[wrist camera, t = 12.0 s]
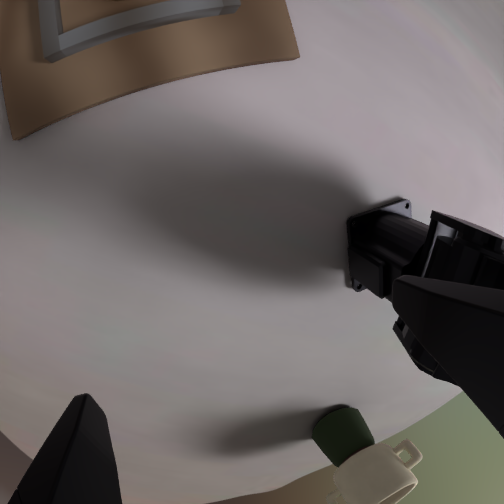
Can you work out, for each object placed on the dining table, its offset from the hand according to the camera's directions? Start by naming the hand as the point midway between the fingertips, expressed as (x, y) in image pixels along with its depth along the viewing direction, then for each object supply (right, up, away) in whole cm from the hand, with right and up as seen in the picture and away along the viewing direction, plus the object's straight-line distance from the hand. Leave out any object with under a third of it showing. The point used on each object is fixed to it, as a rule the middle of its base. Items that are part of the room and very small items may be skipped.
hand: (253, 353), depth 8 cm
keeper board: (-8, +20, +4) cm, 22 cm away
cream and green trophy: (+9, -17, +25) cm, 31 cm away
